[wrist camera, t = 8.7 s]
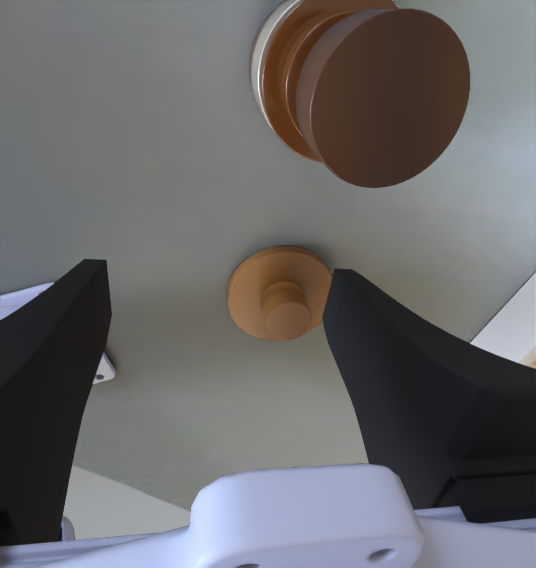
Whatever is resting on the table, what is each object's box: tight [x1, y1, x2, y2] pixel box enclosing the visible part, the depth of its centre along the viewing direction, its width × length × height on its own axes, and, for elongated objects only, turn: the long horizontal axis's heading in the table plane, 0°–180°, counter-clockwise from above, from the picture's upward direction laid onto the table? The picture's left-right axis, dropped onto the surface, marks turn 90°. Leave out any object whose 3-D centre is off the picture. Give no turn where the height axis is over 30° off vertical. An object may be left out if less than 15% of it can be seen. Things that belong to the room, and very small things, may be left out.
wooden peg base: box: [227, 246, 332, 340], centre depth 24 cm, size 7×7×3 cm
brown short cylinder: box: [296, 9, 470, 188], centre depth 12 cm, size 5×5×2 cm
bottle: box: [249, 0, 399, 162], centre depth 16 cm, size 6×6×7 cm
